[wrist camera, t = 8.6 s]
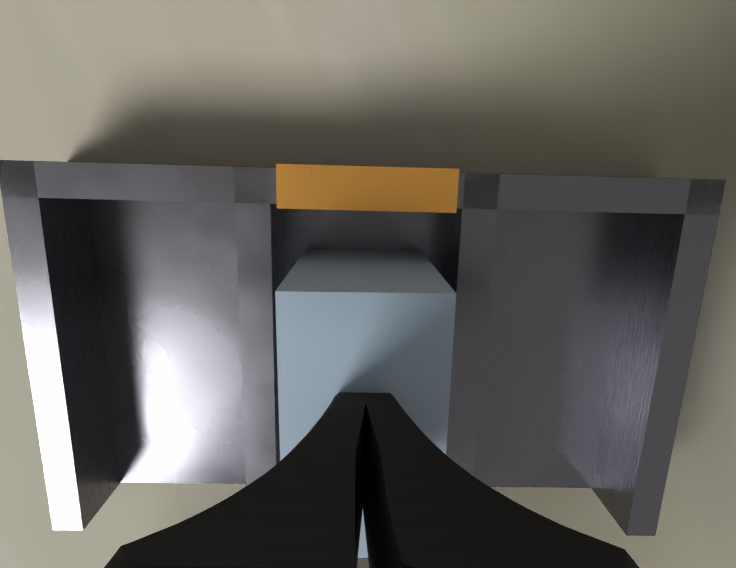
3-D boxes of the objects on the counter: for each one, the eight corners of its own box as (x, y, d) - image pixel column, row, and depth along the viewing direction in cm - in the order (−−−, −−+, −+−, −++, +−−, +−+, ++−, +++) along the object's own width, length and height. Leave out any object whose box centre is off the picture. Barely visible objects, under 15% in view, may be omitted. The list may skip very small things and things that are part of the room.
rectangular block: (413, 431, 18) (439, 557, 12) (308, 430, 18) (282, 557, 12) (421, 250, 16) (456, 293, 10) (305, 248, 16) (275, 291, 10)
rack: (609, 472, 19) (669, 544, 16) (101, 466, 19) (37, 539, 15) (658, 176, 17) (746, 176, 13) (65, 159, 16) (-25, 155, 12)
